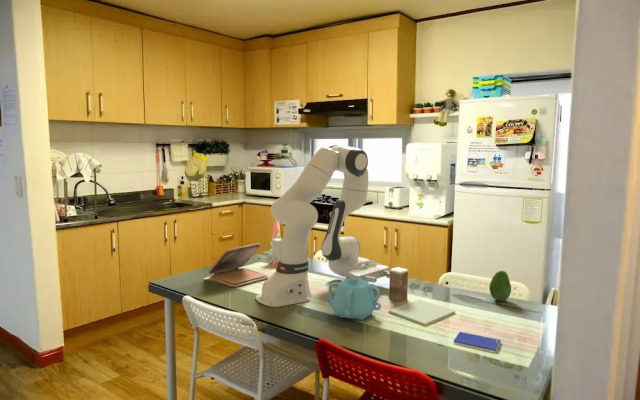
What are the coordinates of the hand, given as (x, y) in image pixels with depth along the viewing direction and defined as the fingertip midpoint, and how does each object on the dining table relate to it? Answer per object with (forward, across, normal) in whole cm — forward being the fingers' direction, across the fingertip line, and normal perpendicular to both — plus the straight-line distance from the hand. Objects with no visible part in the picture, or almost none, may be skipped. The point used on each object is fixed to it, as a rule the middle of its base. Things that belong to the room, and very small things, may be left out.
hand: (383, 278), depth 182 cm
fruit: (+35, +29, +7) cm, 46 cm away
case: (-56, -34, +7) cm, 66 cm away
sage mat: (+23, -5, +7) cm, 24 cm away
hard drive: (+49, -13, +7) cm, 51 cm away
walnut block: (+8, 0, +7) cm, 10 cm away
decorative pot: (+8, -25, +7) cm, 27 cm away
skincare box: (-67, -4, +7) cm, 68 cm away
